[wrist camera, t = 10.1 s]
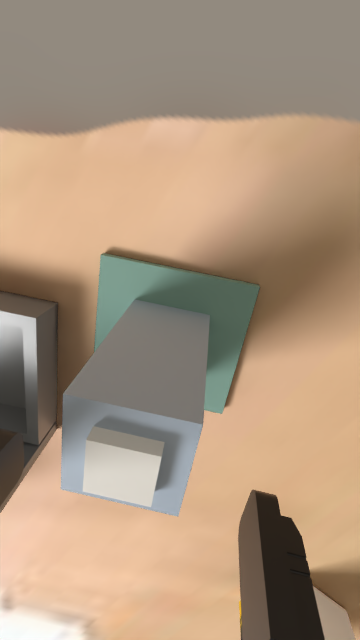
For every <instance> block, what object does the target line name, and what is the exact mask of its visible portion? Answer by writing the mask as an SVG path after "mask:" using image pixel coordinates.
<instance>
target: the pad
mask: <svg viewBox="0 0 360 640" xmlns="http://www.w3.org/2000/svg"><path fill="white" fill-rule="evenodd" d="M259 289H260V286H259V285H257V284H253V283H248V282H243V281H238V280H233V279H228V278H223V277H218V276H213V275H209V274H204V273H199V272H194V271H189V270H184V269H179V268H174V267H169V266H164V265H160V264H155V263H150V262H145V261H140V260H135V259H130V258H125V257H120V256H116V255H111V254H106V253H103V254H101V260H100V274H99V288H98V303H97V317H96V332H95V346H94V352H95V351H96V349H97V348H98V347H99V346H100V344H101V343H102V342H103V340H104V339H105V338H106V336H107V335H108V334H109V332H110V331H111V330H112V328H113V327H114V326H115V324H116V323H117V322H118V320H119V319H120V318H121V316H122V315H123V314H124V313H125V311H126V310H127V309H128V307H129V306H130V305H131V303H132V302H133V301H134V299H136V300H140V301H145V302H150V303H155V304H159V305H164V306H169V307H174V308H179V309H183V310H188V311H193V312H198V313H203V314H207V315H210V322H209V338H208V354H207V370H206V386H205V402H204V410H207V411H211V412H216V413H221V414H222V412H223V409H224V406H225V402H226V399H227V396H228V392H229V389H230V386H231V382H232V379H233V375H234V372H235V369H236V365H237V362H238V359H239V355H240V352H241V349H242V345H243V342H244V339H245V335H246V332H247V329H248V325H249V322H250V319H251V315H252V312H253V309H254V305H255V302H256V299H257V295H258V292H259Z"/></svg>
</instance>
